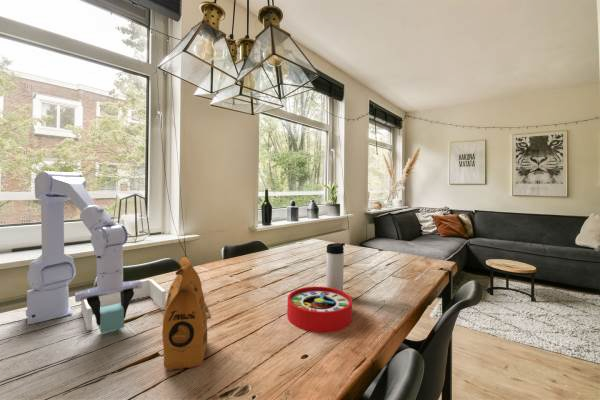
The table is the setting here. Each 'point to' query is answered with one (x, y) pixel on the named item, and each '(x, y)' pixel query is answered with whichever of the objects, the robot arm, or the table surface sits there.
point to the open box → (147, 289)
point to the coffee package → (184, 320)
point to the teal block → (111, 318)
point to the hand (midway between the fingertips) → (110, 320)
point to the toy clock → (319, 309)
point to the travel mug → (335, 266)
